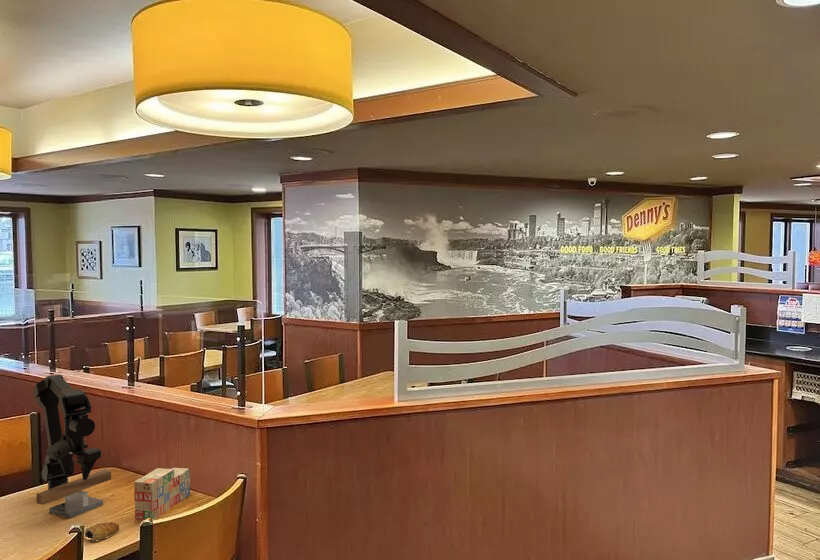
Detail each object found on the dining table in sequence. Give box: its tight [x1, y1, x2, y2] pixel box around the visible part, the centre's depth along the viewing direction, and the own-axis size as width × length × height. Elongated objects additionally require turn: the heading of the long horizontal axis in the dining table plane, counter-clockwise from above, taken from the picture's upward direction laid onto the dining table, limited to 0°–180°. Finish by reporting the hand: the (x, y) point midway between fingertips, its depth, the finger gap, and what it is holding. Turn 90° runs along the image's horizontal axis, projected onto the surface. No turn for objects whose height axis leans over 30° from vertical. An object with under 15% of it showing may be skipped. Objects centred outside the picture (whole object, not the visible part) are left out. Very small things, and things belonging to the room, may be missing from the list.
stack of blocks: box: [133, 467, 191, 521], centre depth 205 cm, size 21×6×12 cm, turn 168°
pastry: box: [84, 521, 120, 542], centre depth 184 cm, size 9×7×4 cm
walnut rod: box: [35, 469, 112, 506], centre depth 203 cm, size 3×24×3 cm, turn 153°
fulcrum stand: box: [48, 490, 104, 519], centre depth 203 cm, size 10×12×6 cm
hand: (75, 477), depth 203 cm, fingers open, 9 cm apart
